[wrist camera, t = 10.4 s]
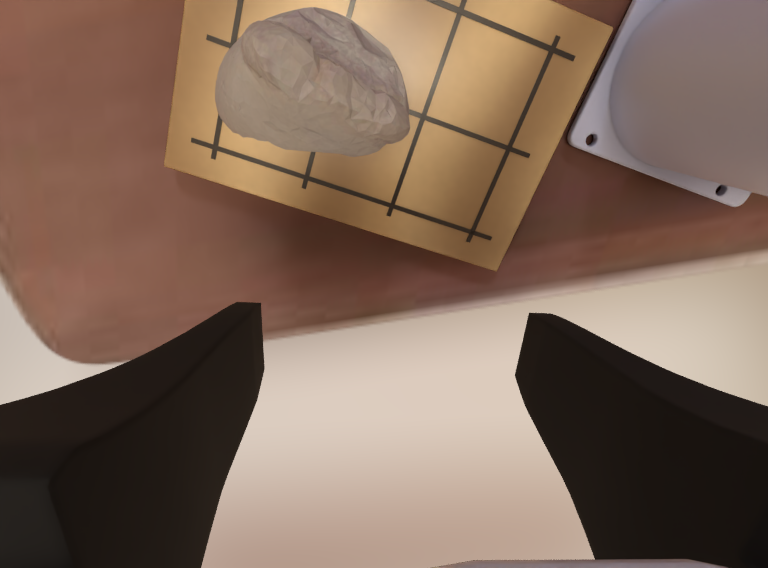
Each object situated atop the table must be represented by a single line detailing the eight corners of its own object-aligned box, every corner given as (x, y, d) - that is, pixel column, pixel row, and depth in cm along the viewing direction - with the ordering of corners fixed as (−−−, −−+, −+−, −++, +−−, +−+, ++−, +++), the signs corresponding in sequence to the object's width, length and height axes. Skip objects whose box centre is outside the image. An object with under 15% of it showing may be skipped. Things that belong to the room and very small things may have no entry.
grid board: (602, 30, 18) (615, 27, 17) (491, 264, 22) (497, 272, 21) (213, -139, 15) (202, -154, 14) (172, 162, 19) (162, 166, 18)
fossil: (257, 124, 18) (139, 160, 9) (251, 28, 16) (102, -50, 7) (396, 132, 18) (421, 174, 9) (401, 38, 17) (439, -25, 8)
